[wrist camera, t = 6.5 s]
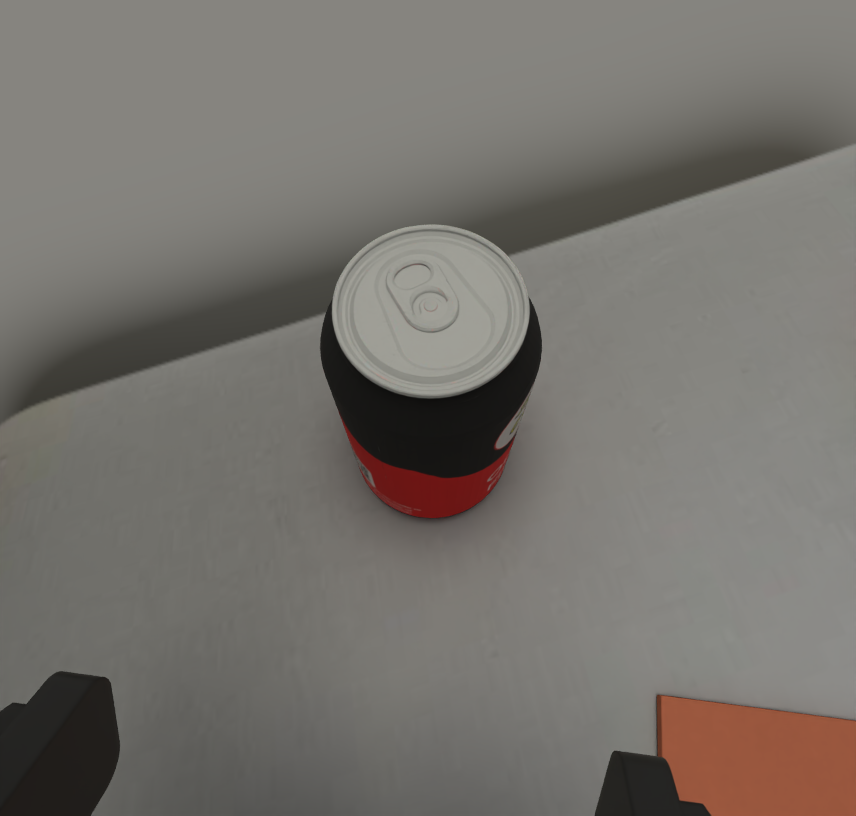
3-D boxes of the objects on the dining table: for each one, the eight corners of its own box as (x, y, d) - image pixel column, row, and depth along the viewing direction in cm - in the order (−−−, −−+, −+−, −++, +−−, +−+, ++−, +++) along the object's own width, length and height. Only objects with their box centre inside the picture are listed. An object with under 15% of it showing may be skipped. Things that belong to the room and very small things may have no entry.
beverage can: (398, 550, 26) (372, 462, 15) (335, 422, 28) (271, 260, 17) (532, 481, 27) (601, 351, 16) (461, 363, 29) (478, 174, 18)
